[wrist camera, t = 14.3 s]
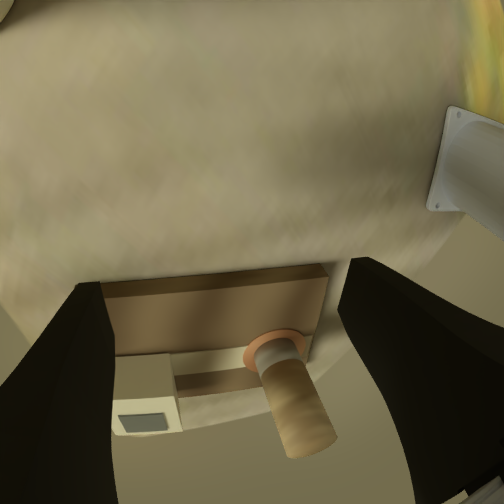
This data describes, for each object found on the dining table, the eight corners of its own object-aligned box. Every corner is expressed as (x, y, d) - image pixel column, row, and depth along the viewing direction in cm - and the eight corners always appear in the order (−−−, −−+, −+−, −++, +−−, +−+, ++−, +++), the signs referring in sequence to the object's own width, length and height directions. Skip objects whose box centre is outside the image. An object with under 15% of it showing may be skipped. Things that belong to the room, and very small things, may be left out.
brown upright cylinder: (293, 332, 22) (338, 428, 16) (296, 358, 24) (336, 445, 18) (250, 346, 22) (284, 447, 15) (257, 370, 24) (289, 462, 17)
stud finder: (169, 353, 20) (174, 398, 18) (177, 393, 23) (183, 433, 20) (98, 357, 19) (94, 402, 16) (115, 397, 22) (116, 437, 19)
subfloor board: (319, 263, 22) (330, 278, 20) (296, 365, 28) (302, 380, 26) (75, 285, 18) (70, 302, 17) (113, 387, 24) (113, 403, 22)
